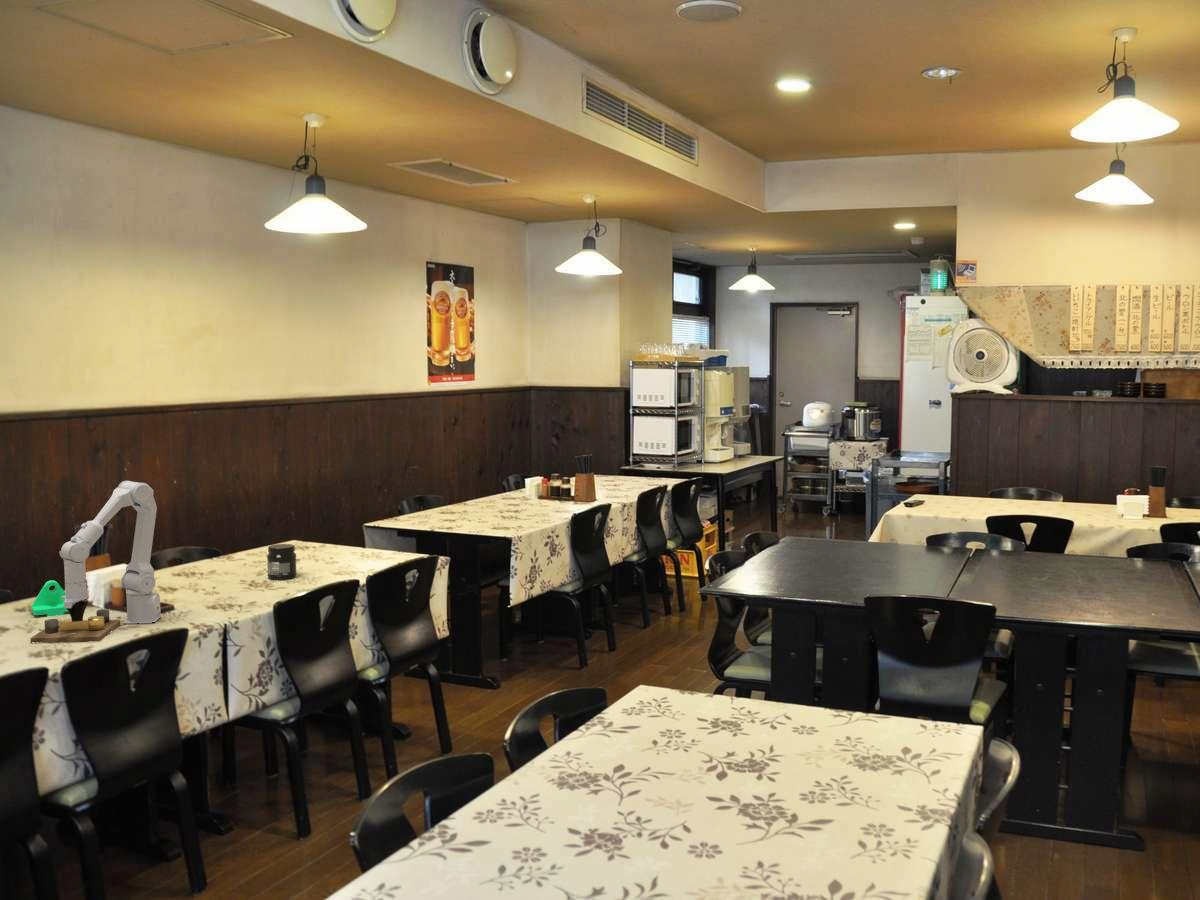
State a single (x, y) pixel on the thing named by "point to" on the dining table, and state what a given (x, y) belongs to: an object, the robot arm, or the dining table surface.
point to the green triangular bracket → (49, 600)
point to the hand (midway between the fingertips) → (77, 626)
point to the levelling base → (75, 631)
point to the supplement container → (281, 562)
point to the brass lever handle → (84, 624)
